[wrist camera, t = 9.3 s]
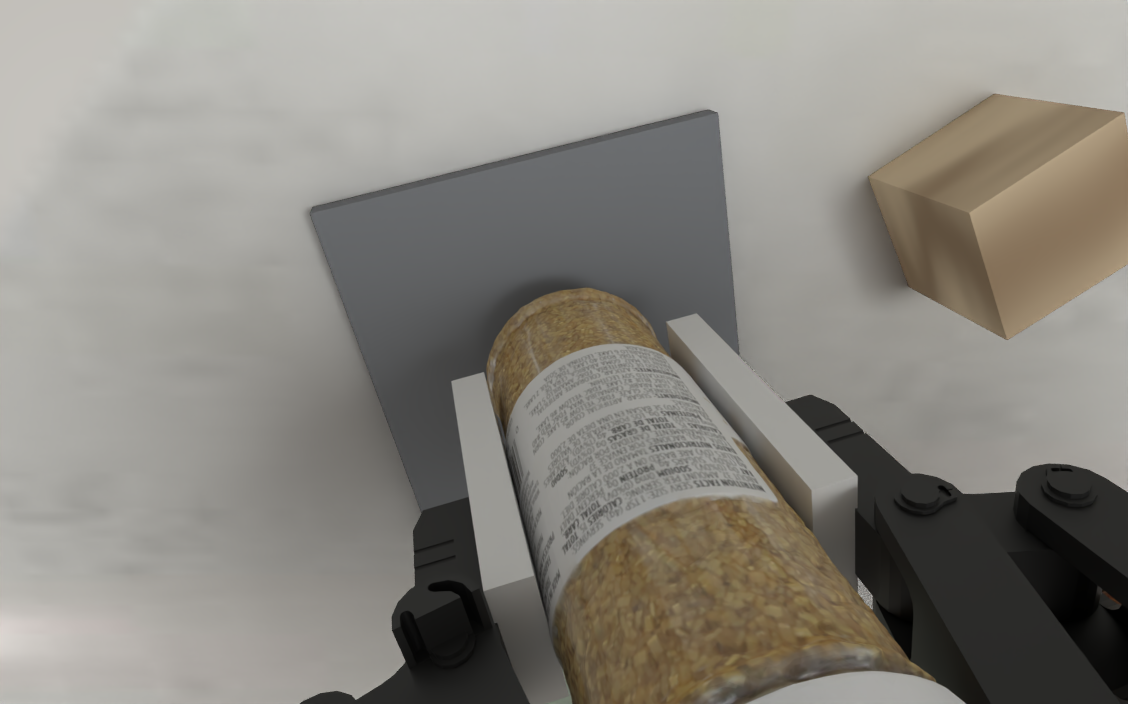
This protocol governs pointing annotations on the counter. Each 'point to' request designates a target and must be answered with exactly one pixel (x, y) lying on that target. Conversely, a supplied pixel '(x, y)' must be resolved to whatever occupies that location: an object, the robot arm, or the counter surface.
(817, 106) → the counter surface
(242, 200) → the counter surface
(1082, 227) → the oak block
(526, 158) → the slate mat
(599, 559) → the sprinkles bottle
